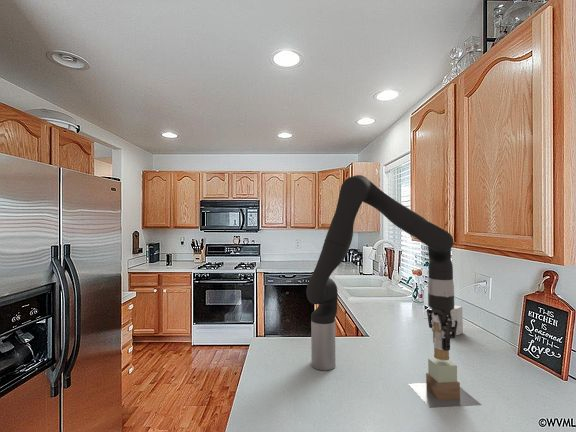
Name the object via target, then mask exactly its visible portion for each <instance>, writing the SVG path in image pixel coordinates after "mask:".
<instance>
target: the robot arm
mask: <svg viewBox="0 0 576 432" xmlns="http://www.w3.org/2000/svg"><path fill="white" fill-rule="evenodd" d="M362 203H364V204H367V205H368V206H371V207H372V208H374V209H376V211H378V212H380V213H381V214H382V215H383V216H384V217H385V218H387V220H388V221H389V222H390V223H392V224H393V225H394V226H396V227H397V228H399V229H400V230H402V231H403V232H405V233H406V234H407V235H410V236H412V237H413V238H416V239H417V240H419V241H420V242H421V243H422V244H424V245H426V246H427V251H428V280H427V281H428V282H427V305H428V307H429V309H428V308H427V309H426V316H427V321H428V323H427V324H428V327H429V329H431V331H432V337H433V338H432V339H433V340H432V342H433V344H434V321H433V315H437V316H436V317H437V320H438V321H439V323H438V324H439V329H440V330H441V333H442V349H443V350H444V351H449V352H450V351H451V339H456V336H457V335H456V329H457V323H458V322H457V320H453V319H452V318H451V313H450V311H451V310H453V309H454V305H455V283H454V273H453V272H454V268H453V267H454V266H453V262H452V251H451V250H452V248H453V246H454V237H453V236H452V234H451V233H450V232H448V231H447V230H445V229H444V228H441V227H440V226H438V225H437V224H434V223H433V222H430V221H429V220H428V219H426V218H424V216H422V215H421V214H418V213H417V212H415V211H414V210H412V209H410V208H408V207H407V206H406V205H404V204H402V203H400V202H399V201H397V200H395V199H394V198H393V197H391V196H390V195H388V194H386V193H385V192H384V191H383V190H381V189H380V188H379V187H378V186H377V185H375V184H374V183H373V182H372V181H371V180H370V179H369V178H367V177H366V176H364V175H361V174H357V175H356V174H355V175H352V176H349V177H347V178H346V179H345V180H344V181H343V182H342V184H341V185H340V189H339V195H338V199H337V204H336V208H335V212H334V215H333V217H332V220H331V221H330V225H329V226H328V229H327V233H326V236H325V239H324V242H323V245H322V248H321V251H320V254H319V257H318V259H317V263H316V265H315V268H314V270H313V271H312V272H313V273H311V274H312V275H311V276H310V279H309V280H308V282H307V286H306V291H305V292H306V298H307V300H308V302H309V303H311V305H318V306H317V308H315V309H314V310H313V311H312V312H311V314H310V316H311V317H310V321H311V322H310V324H311V325H310V327H311V328H310V329H311V332H310V334H311V335H310V336H311V341H310V342H311V346H310V347H311V367H312V368H313V369H315V370H318V369H319V370H318V371H330V370H333V369H334V368H336V316H337V313H338V298H339V297H338V296H339V295H338V294H339V292H338V287H337V284H336V282H335V281H334V280H333V279H332V278H330V277H331V275H332V274H333V272H334V271H335V270H336V269H337V268H338V267H339V266H340V264H341V263H343V261H344V260H345V258H346V257H347V255H348V253H349V249H350V246H351V245H352V241H353V237H354V226H355V220H356V218H357V217H356V216H357V215H358V212H359V210H360V208H361V205H362ZM442 326H447V328H443V327H442ZM445 330H446V334H445ZM451 332H452V334H451Z"/></svg>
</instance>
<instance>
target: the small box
mask: <svg viewBox="0 0 576 432" xmlns="http://www.w3.org/2000/svg"><path fill="white" fill-rule="evenodd" d="M450 313H451V318H452V319H453V320H457V322H458V323H457V329H456V335H455V336H459V335H461V334H463V333H464V322H463V320H464V318H463V306H461V305H455V304H454V309H453V310H451V311H450ZM451 334H452V332H451Z"/></svg>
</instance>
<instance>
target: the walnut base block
mask: <svg viewBox="0 0 576 432" xmlns="http://www.w3.org/2000/svg"><path fill="white" fill-rule="evenodd" d="M425 376H426V377H425V379H426V380H425V381H426V382H425V383H426V389H427V390H428V391H429V392H430V393H431V394H432V395H433V396H434V397H435V398H436V399H437V400H454V399H460V387H461V385H460V384H461V382H460V381H458V380H457V382H445V383H438V382H437V381H436V380H435V379H434V378H433V377H431V376H430V375H429V374H428V372H427V373H425Z"/></svg>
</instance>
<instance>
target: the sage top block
mask: <svg viewBox="0 0 576 432" xmlns="http://www.w3.org/2000/svg"><path fill="white" fill-rule="evenodd" d="M427 362H428V363H427V366H428V368H427V369H428V370H427V371H428V372H427V373H428V374H429V375H430V376H431V377H433V378H434V379H435V380H436V381H437V382H438V383H445V382H457V381H458V365H457V364H455V363H454V362H453V361H451V360H450V359H449V360H445V361H443V360H439V359H436V358H435V357H428V359H427Z"/></svg>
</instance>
